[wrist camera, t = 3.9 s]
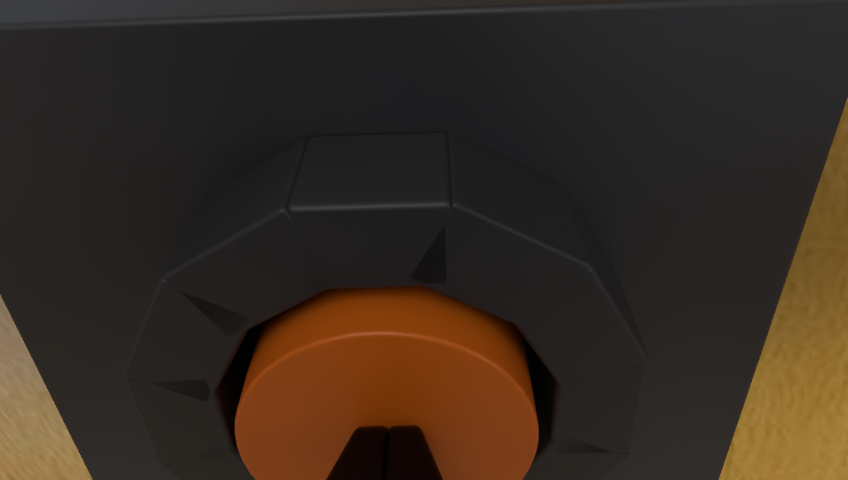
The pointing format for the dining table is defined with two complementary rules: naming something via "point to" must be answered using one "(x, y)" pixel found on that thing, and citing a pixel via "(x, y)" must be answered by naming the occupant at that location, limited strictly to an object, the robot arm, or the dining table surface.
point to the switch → (387, 384)
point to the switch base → (410, 202)
